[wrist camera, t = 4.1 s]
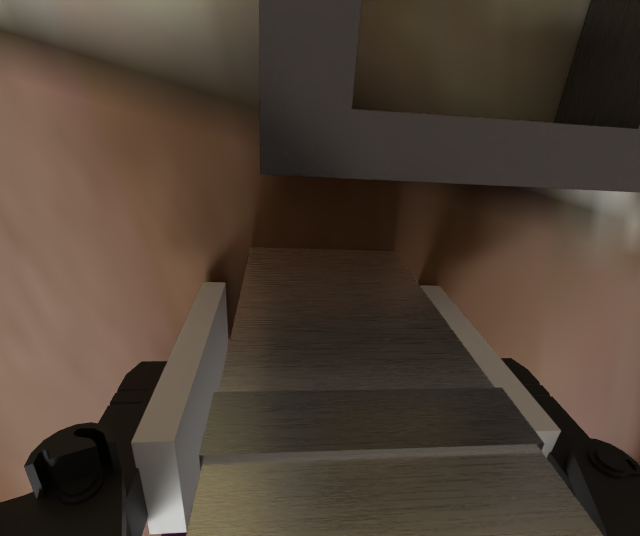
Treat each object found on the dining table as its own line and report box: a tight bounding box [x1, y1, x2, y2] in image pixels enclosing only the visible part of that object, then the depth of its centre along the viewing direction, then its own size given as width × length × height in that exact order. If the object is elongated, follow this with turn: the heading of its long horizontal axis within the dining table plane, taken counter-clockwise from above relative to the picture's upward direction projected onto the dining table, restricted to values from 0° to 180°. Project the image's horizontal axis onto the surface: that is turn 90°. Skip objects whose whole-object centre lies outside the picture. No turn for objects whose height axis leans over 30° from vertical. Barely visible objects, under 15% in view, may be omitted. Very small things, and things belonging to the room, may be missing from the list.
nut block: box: [186, 247, 603, 536], centre depth 9 cm, size 5×5×11 cm
